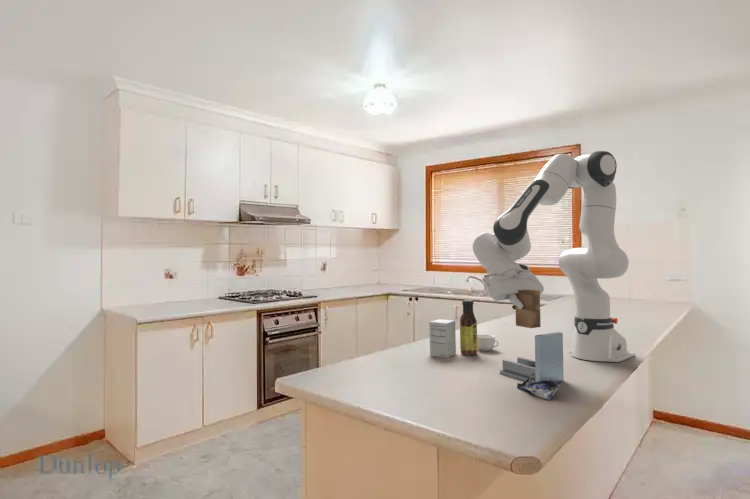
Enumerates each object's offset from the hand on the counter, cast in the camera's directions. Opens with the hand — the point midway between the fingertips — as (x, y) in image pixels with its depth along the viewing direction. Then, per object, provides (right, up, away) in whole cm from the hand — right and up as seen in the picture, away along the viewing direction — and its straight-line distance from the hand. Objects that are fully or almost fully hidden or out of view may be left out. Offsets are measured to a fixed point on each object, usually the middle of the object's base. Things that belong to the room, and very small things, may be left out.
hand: (529, 307), depth 138 cm
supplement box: (-22, -22, +31) cm, 43 cm away
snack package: (-3, -22, -15) cm, 26 cm away
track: (0, -21, 0) cm, 21 cm away
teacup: (-4, -22, +37) cm, 43 cm away
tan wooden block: (0, -6, +1) cm, 6 cm away
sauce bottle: (-12, -22, +32) cm, 40 cm away
